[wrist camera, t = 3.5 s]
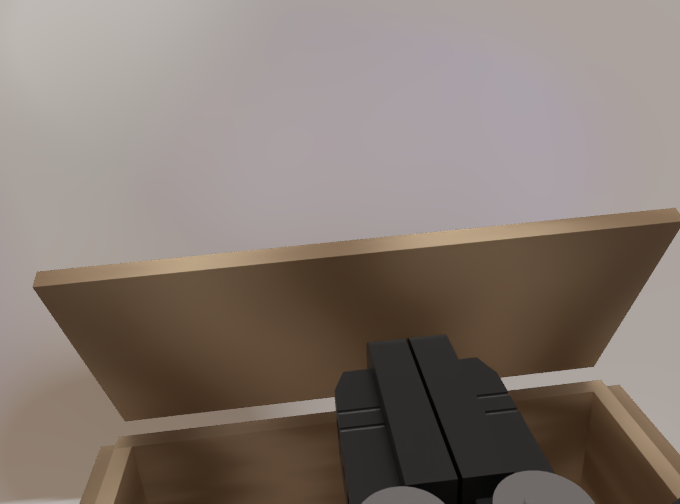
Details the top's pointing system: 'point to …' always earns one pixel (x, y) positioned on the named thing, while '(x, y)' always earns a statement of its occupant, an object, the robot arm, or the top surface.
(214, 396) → the near flap
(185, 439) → the wooden box
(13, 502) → the top surface
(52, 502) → the top surface
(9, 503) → the top surface
